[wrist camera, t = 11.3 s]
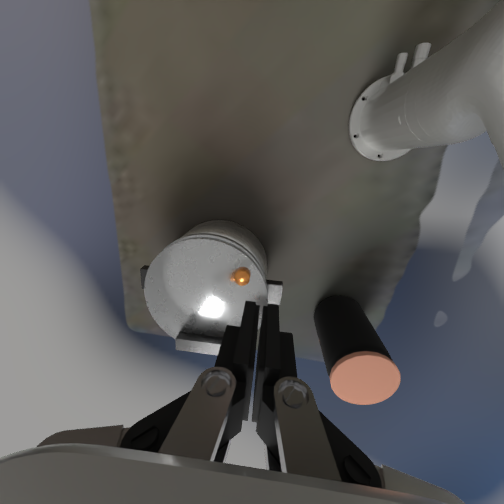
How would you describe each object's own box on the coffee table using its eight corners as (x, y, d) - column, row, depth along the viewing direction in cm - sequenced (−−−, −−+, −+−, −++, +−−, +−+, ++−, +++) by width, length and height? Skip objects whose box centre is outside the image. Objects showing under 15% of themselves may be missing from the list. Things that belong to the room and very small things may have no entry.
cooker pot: (163, 211, 49) (130, 226, 38) (286, 225, 48) (290, 244, 36) (167, 297, 56) (140, 330, 45) (274, 310, 55) (274, 348, 44)
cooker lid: (144, 230, 38) (133, 234, 35) (275, 244, 37) (275, 250, 34) (151, 337, 45) (142, 348, 42) (261, 352, 44) (260, 364, 41)
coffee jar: (303, 318, 55) (316, 386, 38) (332, 284, 51) (361, 343, 35) (340, 339, 56) (368, 414, 40) (371, 308, 53) (416, 376, 36)
